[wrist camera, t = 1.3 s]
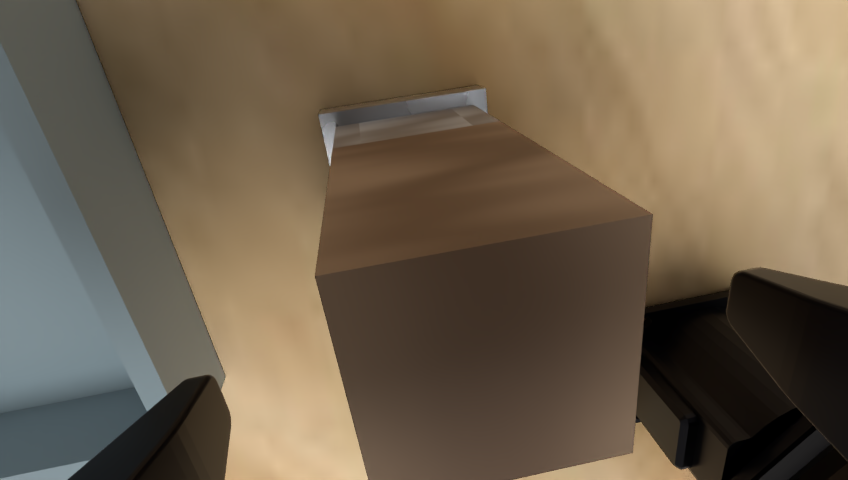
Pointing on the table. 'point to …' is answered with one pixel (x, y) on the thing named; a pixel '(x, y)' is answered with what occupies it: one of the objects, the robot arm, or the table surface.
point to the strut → (479, 299)
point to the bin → (79, 257)
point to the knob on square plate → (398, 109)
